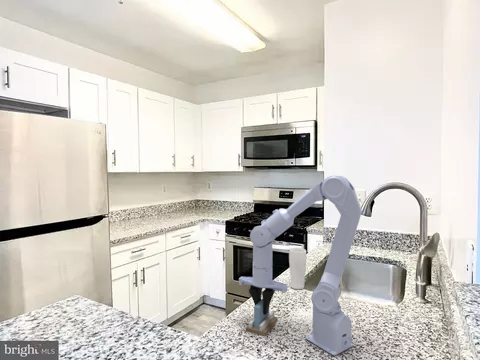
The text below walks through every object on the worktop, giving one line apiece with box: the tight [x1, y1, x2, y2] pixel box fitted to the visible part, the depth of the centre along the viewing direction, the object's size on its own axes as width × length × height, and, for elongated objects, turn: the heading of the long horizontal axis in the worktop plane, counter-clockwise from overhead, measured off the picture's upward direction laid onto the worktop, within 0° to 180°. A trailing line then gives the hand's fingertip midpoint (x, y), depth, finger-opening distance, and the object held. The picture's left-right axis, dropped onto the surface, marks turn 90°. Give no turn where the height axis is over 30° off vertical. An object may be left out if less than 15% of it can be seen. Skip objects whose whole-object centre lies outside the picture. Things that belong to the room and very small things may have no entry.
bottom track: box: [245, 310, 278, 337], centre depth 85 cm, size 10×6×3 cm, turn 154°
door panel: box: [253, 298, 270, 329], centre depth 85 cm, size 8×2×6 cm, turn 154°
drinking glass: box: [288, 247, 307, 290], centre depth 116 cm, size 7×7×15 cm
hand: (262, 312), depth 85 cm, fingers closed on door panel, 2 cm apart
